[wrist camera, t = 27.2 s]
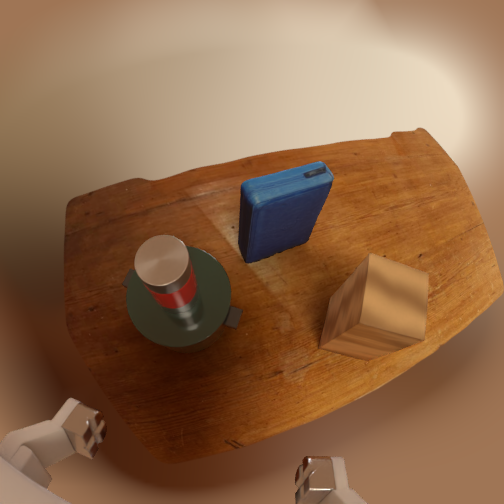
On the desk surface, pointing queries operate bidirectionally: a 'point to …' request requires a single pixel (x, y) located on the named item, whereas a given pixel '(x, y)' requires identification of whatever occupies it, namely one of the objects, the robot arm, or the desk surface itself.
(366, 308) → the block
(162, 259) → the can
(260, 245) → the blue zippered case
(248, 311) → the desk surface
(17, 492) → the robot arm
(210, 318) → the pot
